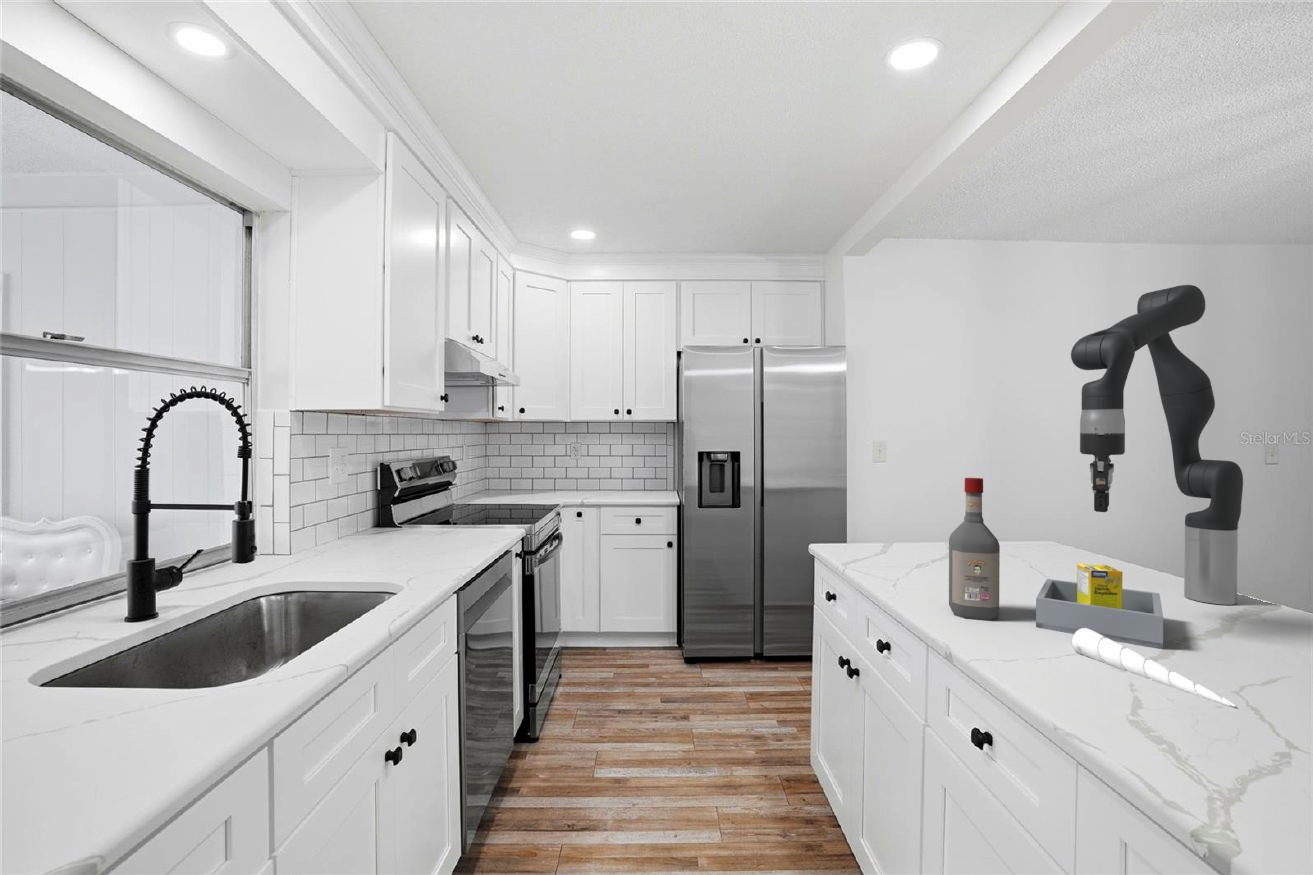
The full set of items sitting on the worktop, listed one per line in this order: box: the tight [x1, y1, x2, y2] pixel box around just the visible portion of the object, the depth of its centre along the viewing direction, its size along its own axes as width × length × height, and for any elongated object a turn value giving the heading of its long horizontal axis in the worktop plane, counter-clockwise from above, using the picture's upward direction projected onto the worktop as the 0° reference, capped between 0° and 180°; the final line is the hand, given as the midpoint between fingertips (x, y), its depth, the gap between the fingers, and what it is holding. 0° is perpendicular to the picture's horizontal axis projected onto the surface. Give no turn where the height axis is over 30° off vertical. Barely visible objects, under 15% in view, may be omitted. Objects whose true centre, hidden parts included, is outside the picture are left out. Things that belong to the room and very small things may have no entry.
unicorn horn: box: [1071, 628, 1237, 708], centre depth 99 cm, size 5×24×5 cm, turn 14°
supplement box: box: [1076, 563, 1123, 609], centre depth 125 cm, size 6×6×11 cm
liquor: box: [948, 477, 1001, 621], centre depth 132 cm, size 9×9×30 cm
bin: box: [1035, 578, 1164, 650], centre depth 125 cm, size 20×20×6 cm
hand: (1101, 509), depth 125 cm, fingers open, 8 cm apart
